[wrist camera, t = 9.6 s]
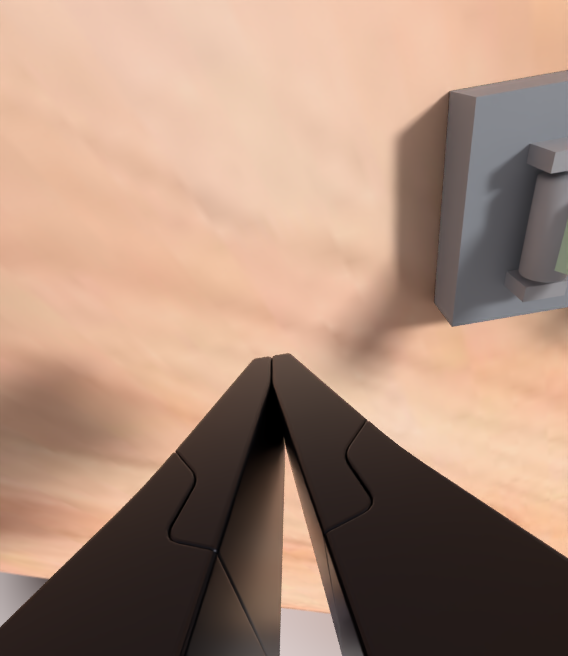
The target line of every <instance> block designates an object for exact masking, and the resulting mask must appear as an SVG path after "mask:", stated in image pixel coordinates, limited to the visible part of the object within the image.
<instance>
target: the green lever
mask: <svg viewBox="0 0 568 656" xmlns="http://www.w3.org/2000/svg"><path fill="white" fill-rule="evenodd" d="M518 271H519V273H520V275H522V276H523V277H525V278H527V279H529V280H533V281H537V282H558V281H561V280H563V279H565V278H566V277H567V276H568V171H564V172H558V173H552V174H550V173H548V172H546V171H545V172H542V173H540V174H538V176H537V180H536V185H535V190H534V195H533V200H532V205H531V210H530V215H529V220H528V225H527V230H526V235H525V239H524V244H523V249H522V254H521V259H520V264H519V269H518Z"/></svg>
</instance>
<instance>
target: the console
mask: <svg viewBox="0 0 568 656" xmlns="http://www.w3.org/2000/svg"><path fill="white" fill-rule="evenodd" d="M545 171H546V172H548V173H550V174H552V173H558V172H564V171H568V70H566V71H560V72H554V73H549V74H543V75H537V76H532V77H526V78H521V79H515V80H509V81H504V82H498V83H492V84H487V85H481V86H476V87H470V88H464V89H459V90H453V91H450V96H449V109H448V123H447V136H446V150H445V163H444V177H443V190H442V204H441V217H440V231H439V244H438V258H437V271H436V285H435V298H434V303H435V305H436V306H437V307H438V309H439V310H440V311H441V313H442V314H443V315H444V317H445V318H446V319H447V321H448V322H449V324H450V325H451V326H452V327H453V326H459V325H465V324H471V323H477V322H483V321H489V320H494V319H500V318H506V317H512V316H518V315H524V314H530V313H536V312H542V311H548V310H554V309H560V308H565V307H568V276H567V277H566V278H565V279H563V280H561V281H558V282H537V281H533V280H529V279H527V278H525V277H523V276H522V275H520V273H519V271H518V269H519V264H520V259H521V254H522V249H523V244H524V239H525V235H526V230H527V225H528V220H529V215H530V210H531V205H532V200H533V195H534V190H535V185H536V180H537V176H538V174H540V173H542V172H545Z"/></svg>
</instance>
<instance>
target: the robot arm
mask: <svg viewBox="0 0 568 656" xmlns="http://www.w3.org/2000/svg"><path fill="white" fill-rule="evenodd" d="M284 440H285V441H284ZM285 445H286V449H287V453H288V457H289V461H290V465H291V468H292V472H293V476H294V479H295V483H296V487H297V491H298V494H299V498H300V502H301V505H302V509H303V513H304V516H305V520H306V524H307V527H308V531H309V535H310V538H311V542H312V546H313V549H314V553H315V557H316V561H317V564H318V568H319V572H320V575H321V579H322V583H323V586H324V590H325V594H326V597H327V601H328V605H329V608H330V612H331V616H332V619H333V623H334V627H335V630H336V634H337V638H338V642H339V645H340V649H341V652H342V656H568V558H567V557H565V556H564V555H562V554H561V553H559V552H558V551H556V550H555V549H553V548H552V547H550V546H549V545H547V544H546V543H544V542H543V541H541V540H540V539H538V538H537V537H535V536H533V535H532V534H530V533H529V532H527V531H526V530H524V529H523V528H521V527H520V526H518V525H517V524H515V523H514V522H512V521H511V520H509V519H508V518H506V517H505V516H503V515H502V514H500V513H499V512H497V511H496V510H494V509H493V508H491V507H490V506H488V505H487V504H485V503H484V502H482V501H481V500H479V499H477V498H476V497H474V496H473V495H471V494H470V493H468V492H467V491H465V490H464V489H462V488H461V487H459V486H458V485H456V484H455V483H453V482H452V481H450V480H449V479H447V478H446V477H444V476H443V475H441V474H440V473H438V472H437V471H435V470H434V469H432V468H431V467H429V466H428V465H426V464H424V463H423V462H422V461H420V460H419V459H417V458H416V457H414V456H413V455H412V454H410V453H409V452H407V451H406V450H404V449H403V448H402V447H400V446H399V445H398V444H396V443H395V442H394V441H393V440H391V439H390V438H389V437H388V436H386V435H385V434H384V433H383V432H381V431H380V430H379V429H378V428H377V427H375V426H374V425H373V424H372V423H371V422H369V421H367V419H365V418H364V417H363V416H362V415H361V414H360V413H358V412H357V411H356V410H355V409H354V408H353V407H351V406H350V405H349V404H348V403H347V402H346V401H345V400H343V399H342V398H341V397H340V396H339V395H338V394H336V393H335V392H334V391H333V390H332V389H331V388H329V387H328V386H327V385H326V384H325V383H324V382H323V381H321V380H320V379H319V378H318V377H317V376H316V375H314V374H313V373H312V372H311V371H310V370H309V369H307V368H306V367H305V366H304V365H303V364H302V363H300V362H299V361H298V360H297V359H296V358H295V357H294V356H292V355H291V354H289V353H287V354H281V355H275V356H273V358H271V357H263V358H256V359H254V360H252V362H251V363H250V364H249V365H248V366H247V367H246V369H245V370H244V371H243V372H242V373H241V374H240V376H239V377H238V378H237V379H236V380H235V382H234V383H233V384H232V385H231V386H230V387H229V389H228V390H227V391H226V392H225V393H224V394H223V396H222V397H221V398H220V399H219V400H218V401H217V403H216V404H215V405H214V406H213V407H212V409H211V410H210V411H209V412H208V413H207V414H206V416H205V417H204V418H203V419H202V420H201V421H200V423H199V424H198V425H197V426H196V427H195V429H194V430H193V431H192V432H191V433H190V434H189V436H188V437H187V438H186V439H185V440H184V441H183V443H182V444H181V445H180V446H179V447H178V449H177V450H176V453H172V455H171V456H170V457H169V458H168V459H167V460H166V462H165V463H164V464H163V465H162V466H161V467H160V468H159V470H158V471H157V472H156V473H155V474H154V475H153V476H152V477H151V478H150V480H149V481H148V482H147V483H146V484H145V485H144V486H143V487H142V488H141V489H140V490H139V491H138V492H137V493H136V494H135V495H134V496H133V498H132V499H131V500H130V501H129V502H128V503H127V504H126V505H125V506H124V507H123V508H122V509H121V510H120V511H119V512H118V513H117V514H116V515H115V516H114V517H113V518H112V519H111V520H109V521H108V522H107V523H106V524H105V525H104V526H103V527H102V528H101V529H100V530H99V531H98V532H97V533H96V534H95V535H94V536H93V537H92V538H91V539H90V540H89V541H88V542H87V543H86V544H85V545H84V546H83V547H82V548H81V549H80V550H79V551H78V552H77V553H76V554H75V555H74V556H73V557H72V558H71V559H70V560H69V561H67V562H66V563H65V564H64V565H63V566H62V567H61V568H60V569H59V570H58V571H57V572H56V573H55V574H54V575H53V576H52V577H51V578H50V579H49V580H48V581H47V582H46V583H45V584H44V585H43V586H42V587H41V588H40V589H39V590H38V591H37V592H36V593H35V594H34V595H33V596H32V597H31V598H30V599H29V600H28V601H27V602H25V604H23V605H22V606H21V607H20V608H19V609H18V610H17V611H16V612H15V613H14V614H13V615H12V616H11V617H10V618H9V619H8V620H7V621H6V622H5V623H4V624H3V625H2V626H1V627H0V656H279V655H280V620H281V584H282V548H283V511H284V475H285Z"/></svg>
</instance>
